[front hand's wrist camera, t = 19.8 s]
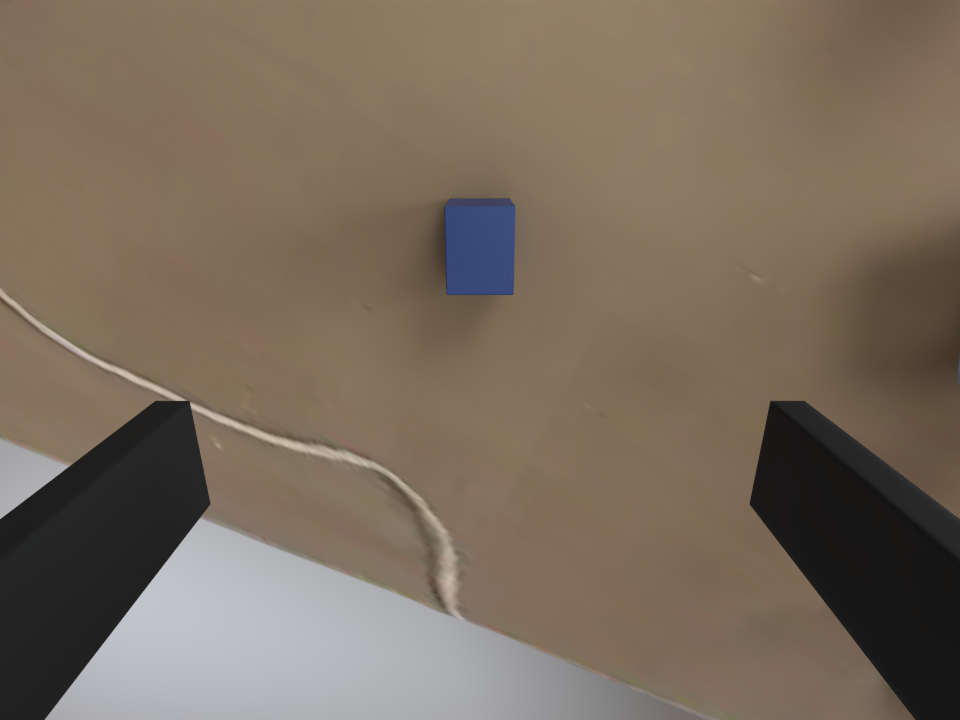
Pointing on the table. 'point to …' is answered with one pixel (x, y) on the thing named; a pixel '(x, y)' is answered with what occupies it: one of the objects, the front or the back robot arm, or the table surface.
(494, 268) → the brick
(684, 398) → the table surface
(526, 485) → the table surface
